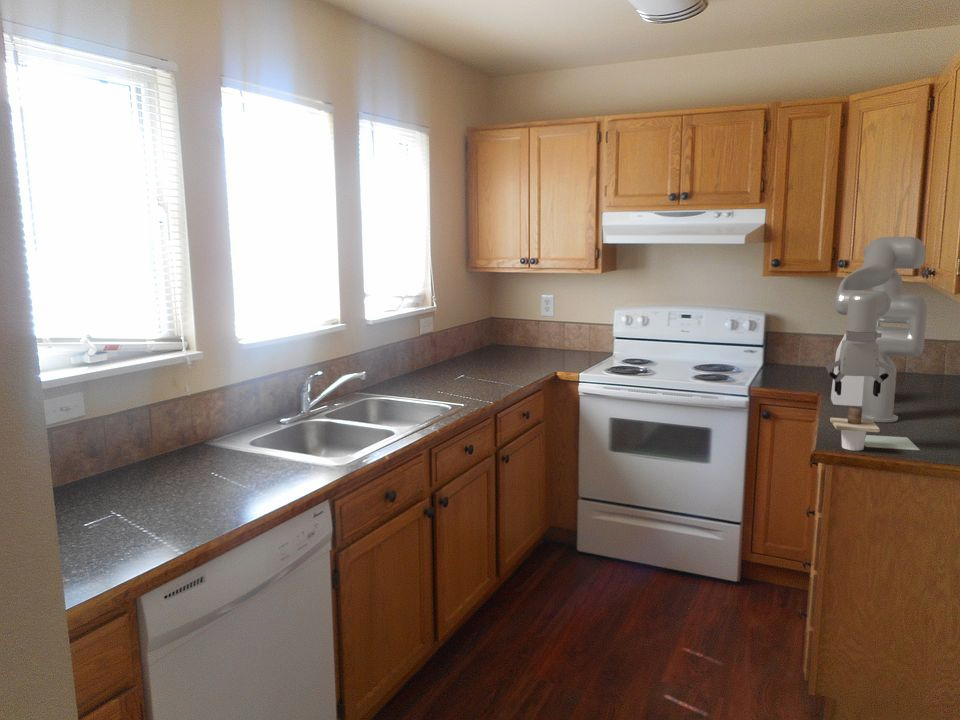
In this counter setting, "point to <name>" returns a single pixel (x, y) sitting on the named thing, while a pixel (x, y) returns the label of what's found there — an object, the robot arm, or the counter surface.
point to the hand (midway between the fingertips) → (856, 394)
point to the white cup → (853, 439)
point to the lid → (854, 422)
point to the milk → (847, 387)
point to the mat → (889, 442)
